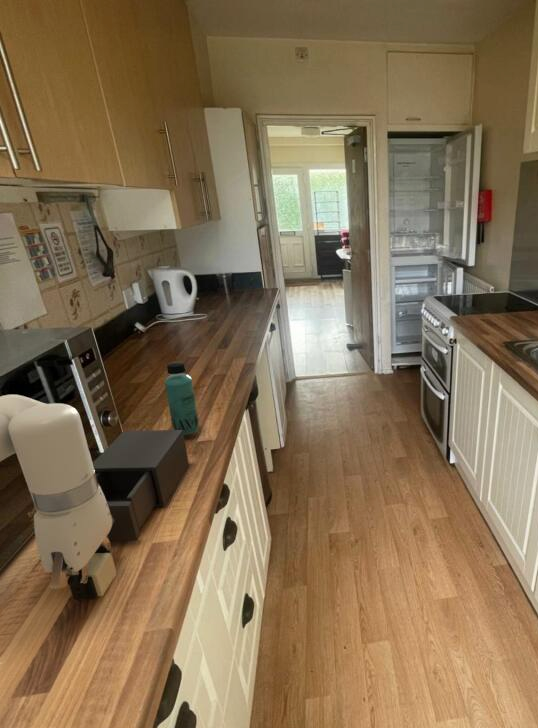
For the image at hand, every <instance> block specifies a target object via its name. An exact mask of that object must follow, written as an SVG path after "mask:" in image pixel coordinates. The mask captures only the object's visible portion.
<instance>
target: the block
mask: <svg viewBox="0 0 538 728" xmlns="http://www.w3.org/2000/svg"><path fill="white" fill-rule="evenodd" d="M115 565H116V564H115V561H114V557H113V555H112V552H110V553H94V554H93V556H92V557H91V558H90V560H89V561H88V562H87V570H88V577H92V579H93V582H94V586H95V589H96V592H97V596H96V597H104V594H105V593H106V591H107V590H108V588H109V587H110V585H111V583H112V581H113V580H114V578H115V577H116V575H117V574H118V573H117V569H116V566H115ZM72 575H79V571H77V572H75V571H74V570H73V569H72ZM68 589H69V591H70V594H71V597H72V598H73V596H72V593H71V590H70V587H69V586H68Z"/></svg>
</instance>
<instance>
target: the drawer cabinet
mask: <svg viewBox="0 0 538 728" xmlns="http://www.w3.org/2000/svg"><path fill="white" fill-rule="evenodd" d="M92 463H93V467H94V470H95V474H96V473H97V472H114V471H152V472H153V477H154V481H155V485H156V490H157V494H158V501H157V502H156V504H155V506H154V507H153V508H165V507H166V505H167V503H168V502H169V501H170V498H171V497H172V495H173V493H174V492H175V491H176V488H177V487H178V485H179V484H180V482H181V480H182V479H183V477H184V475H185V474H186V472H187V471H188V469H189V467H190V462H189V458H188V451H187V445H186V441H185V435H183V430H173V429H165V430H164V429H160V430H159V429H156V430H155V429H154V430H153V429H151V430H150V429H149V430H148V429H145V430H123V431H122V432H121V433H120V434H119V435H118V436H117V437H116V439H115V440H113V442H111V443H110V444H109V446H108V447H106V449H105V450H104V451H103V452H102V453H100V454H99V456H98V457H97V458H96V459H95V460H94V461H92Z"/></svg>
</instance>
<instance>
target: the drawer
mask: <svg viewBox="0 0 538 728" xmlns="http://www.w3.org/2000/svg"><path fill="white" fill-rule="evenodd" d="M96 477H97V481H98V484H99V486H100V488H101V490H102V492H103V494H104V496H105V499H106V501H107V504H108V507H109V511H110V514H111V515H112V527H111V530H110V534H109V541H110V542H136V541H137V542H138V540H139V539H140V537H141V534H140V529H141V528H142V526H143V525H144V523H145V521H146V520H147V518H148V517H149V515H150V513H152V510H153V509H154V508H155V507H154V506H155V504H156V502H157V501H158V494H157V490H156V485H155V481H154V477H153V472H152V471H114V472H97V473H96Z"/></svg>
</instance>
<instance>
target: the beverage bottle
mask: <svg viewBox="0 0 538 728" xmlns="http://www.w3.org/2000/svg"><path fill="white" fill-rule="evenodd" d="M166 368H167V369H166V371H167V374H169V376H168V377H167V378H166V379H165V380H164V385H165V391H166V397H167V401H168V410H169V416H170V422H171V428H172V430H183V435H184V436H189V435H192V434H194V433H196V432H198V431H199V428H200V423H199V421H200V420H199V414H198V409H197V405H196V404H197V403H196V397H195V395H196V394H195V392H194V386H193V378H192V377H191V376H190V375H188V374H186V373H185V372H187V368H186V365H185V362H183V361H172V362H169V363H168V364H167V365H166Z"/></svg>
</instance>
